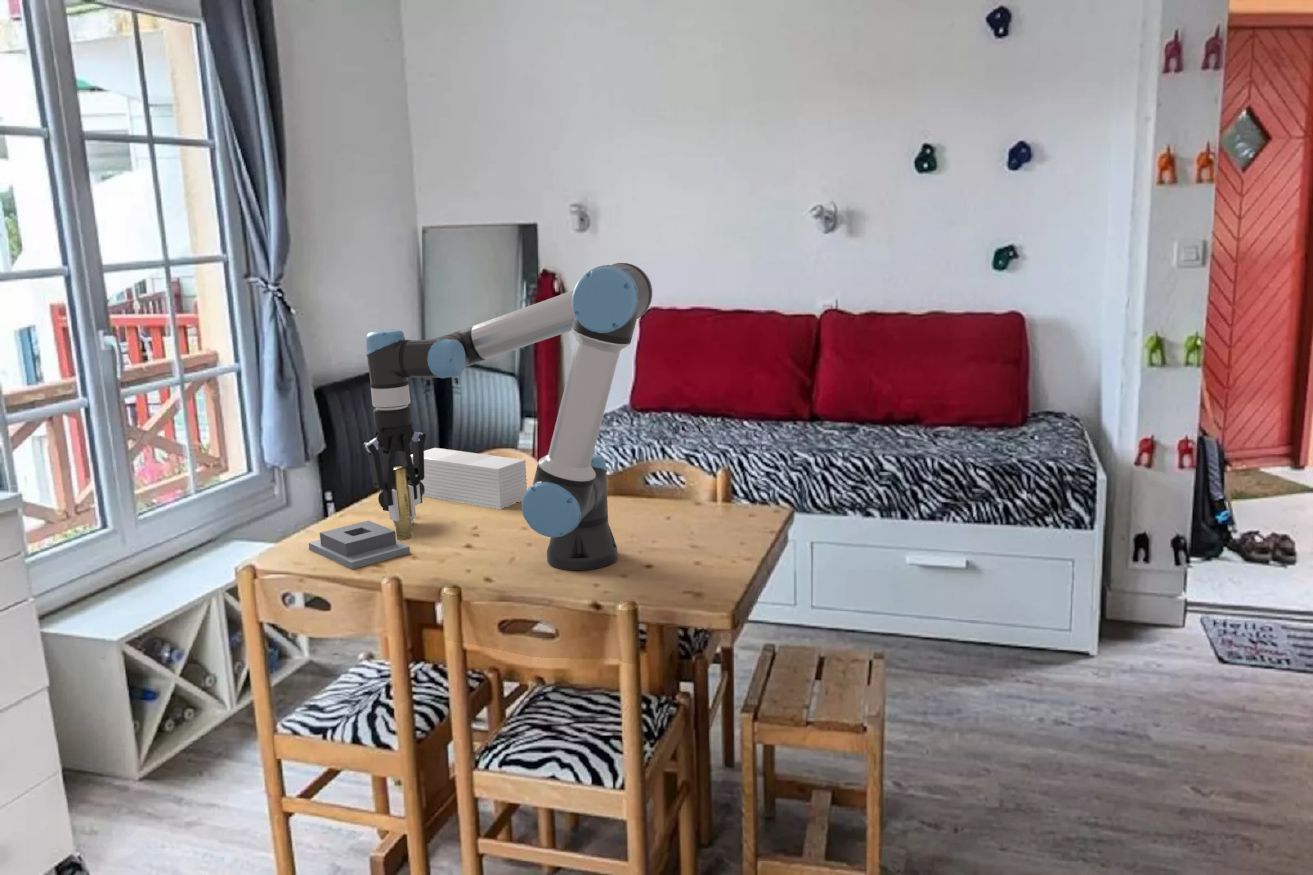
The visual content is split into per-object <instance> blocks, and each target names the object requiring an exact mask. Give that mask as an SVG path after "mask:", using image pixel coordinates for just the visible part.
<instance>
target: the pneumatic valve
mask: <svg viewBox="0 0 1313 875" xmlns="http://www.w3.org/2000/svg"><path fill="white" fill-rule="evenodd" d="M407 484H408V483H407ZM416 487H417V499H415V500H414V501H415V506H418V505H420V504H423V496H422V495H423V494H424V492H425V488H424V485H423V483H422V482H421V480H420V481H419V484H418V485H417V486H416ZM378 503H379V506H380V507H381V508H382V511H385V512H389V507H388V506H387V505H385V503H384V493H383V490H381V489H380V493H379V494H378ZM414 519H415V517H411V524H412V525H414V524H415V520H414ZM392 522H393V526H394V527H396V524H395V521H394V520H392Z"/></svg>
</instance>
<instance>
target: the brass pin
mask: <svg viewBox="0 0 1313 875" xmlns="http://www.w3.org/2000/svg"><path fill="white" fill-rule="evenodd" d="M393 489H395V490H397V499H398V509H399V519H400V521H395V524H396V526H395V535H396V541H408V540H411V539H413V536H414V534H413V526H412V525H413V524H411V514H410V504H409V494H408V484H407V474H406V467H403V466H394V473H393Z"/></svg>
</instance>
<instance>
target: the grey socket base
mask: <svg viewBox="0 0 1313 875" xmlns="http://www.w3.org/2000/svg"><path fill="white" fill-rule="evenodd" d="M308 549H309V550H310V549H311V550H310V551H313V552H314V553H317V554H319V555H321V556H323V557H325V558H328V559H329V560H332V561H334V562H337V563H338V564H340V565H343V566H344V565H345V567H346V568H349V569H351V570H353V569H357V568H361V567H364V566H368V565H372V564H375V563H376V564H377V563H379V561H380V562H382V561H386V560H389V559H393V558H396V556H398V557H400V556H404V555H407V554H410V553H411V548H410V546H409V545H406V544H404V543H402V542H400V541H398V540H397V534H396V530H393V529H391V528H388V527H386V526H383V525H380V524H378V523H375V522H373V521H371V520H365V521H361V522H357V523H353V524H349V525H345V526H340V527H337V528H333V529H329V530H325V531H320V532H319V540H314V541H310V542H308Z"/></svg>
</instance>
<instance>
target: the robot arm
mask: <svg viewBox="0 0 1313 875" xmlns="http://www.w3.org/2000/svg"><path fill="white" fill-rule="evenodd" d="M652 300H653V286H652V283H651V280H650V278H649V276H648V275H647V274H646V273H645V271H643V269H641V268H640V267H638V266H637V265H635V264H631V263H627V262H617V263H613V264H608V265H607V264H606V265H605V264H604V265H600V266H597V267H594V268H592V269H590V270H589V271H587V272H586V273H585V274H583V275H582V277H580V278H579V280H578V281H577V283H576V284H575V285H574V289H573V290H571V291H567V292H564V293H561V294H559V295H556V296H554V297H550V298H547V299H545V300H542V301H540V302H537V303H534V304H531V305H528V306H525V307H522V308H520V309H517V310H514V311H511V312H508V313H505V314H502V315H499V316H498V317H494V318H491V319H489V320H486V321H483V322H480V323H477V324H475V325H472V326H469V327H468V326H467V327H465V328H463V329H460V330H456V331H454V332H452V333H448V334H445V335H442V336H437V337H434V338H430V339H413V340H412V339H406V337H405V333H404V332H403V330H401V329H381V330H373V331H370V332H369V333H367V335H366V337H365V339H366V342H365V343H366V357H367V366H368V373H369V381H370V382H369V383H370V394H371V404H372V406H373V407H374V409H373V410H372V414H373V423H374V427H375V428H374V429H375V433H374V434H373V435H374V437H373V439H371V440H369V442H364V443H363V445H362V447H363V448H364V450H365V452H366V454H367V459H368V463H369V464H368V465H369V470H370V475H371V481H372V486H373V488H375V489H378V490H380V491H381V490H383V493H384V503H385V505H387V506H388V507H389V511H388V515H389V520H391V521H393V520H394V521H400V519H399V509H398V499H397V490H395V489H393V473H394V467H395V458H396V456H397V455H396V453H397V454H399V455H398V456H399V458H400V462H401V465H402V466H403V467H406V474H407V483H408V494H409V504H410V514H411V517H414V518H415V517H417V515H416V514H417V513H416V512H417V510H416V505H415V501H414V500H415V499H417V487H416V486H417V485H418V484H419V481H420V480H423V479H424V451H425V441H426V438H427V434H426V433H424V432H419V431H415V429H414V428H413V425H412V423H413V416H412V407H411V406H410V405H409V404H411V394H410V384H409V378H410V379H411V378H433V379H434V378H436V379H438V378H440V379H446V378H456V377H459V376H460V375H462V373H463V371H464V369H465V368H467V367H469V366H472V365H475V364H478V363H480V362H483V361H486V360H488V359H491V358H495V357H497V356H501V355H504V354H506V353H510V352H512V351H515V350H518V349H521V348H525V347H527V346H530V345H533V344H535V343H539V342H542V341H545V340H548V339H551V338H554V337H556V336H557V337H558V336H560V335H562V334H566V333H568V332H572V334H573V335H574V337H575V339H576V340H575V345H574V349H573V353H572V356H571V360H570V364H569V368H568V373H567V377H566V381H565V385H564V389H563V392H562V397H561V400H560V405H559V409H558V413H557V417H556V421H555V424H554V430H553V434H552V437H551V441H550V446H549V449H548V452H547V454H546V455H544V456H542V457H541V458H539V459H538V462H537V465H536V470H535V473H534V478H533V482H532V485H530V486H529V487H527V491H526V493H525V495H524V497H523V500H522V501H521V512H522V515H523V518H524V520H525V521H526V523H527V524H528V526H529V527H530V529H532V530H533V531H534V532H536V533H537V534H539V535H541V536H544V537H547V538H550V540H549V544H548V546H547V550H546V559H547V560H546V561H547V563H548V565H549V566H552V567H553V568H557V569H561V570H567V571H587V570H594V569H595V570H596V569H600V568H604V567H607V566H610V565H611V564H613V563H615V562H616V561H617V560H618V556H619V554H618V546H617V543H616V540H615V537H614V534H613V532H612V529H611V527H610V523H609V516H608V514H609V513H608V511H609V509H608V505H609V504H608V482H607V481H608V480H607V472H608V469H607V463H606V458H604V456H603V455H600V454H597V453H595V449H596V446H597V441H598V438H599V434H600V429H601V425H602V422H603V418H604V415H605V411H606V410H605V409H606V407H607V403H608V400H609V395H610V391H611V388H612V383H613V380H614V376H615V372H616V369H617V364H618V361H619V357H620V353H621V351H622V350H623V349H625V348H627V347H628V346H630V345H631V343H632V338H633V335H634V332H635V328H636V325H637V320H638V319H640V318H641V317H642V316H644V315H645V313H646V312H648V310H649V308H650V306H651V304H652ZM411 441H412V451H411V447H410V444H411ZM379 447H380V448H381V456H382V463H381V459H380V453H379V451H378V450H379ZM412 454H413V463H412V459H411V455H412Z"/></svg>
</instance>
